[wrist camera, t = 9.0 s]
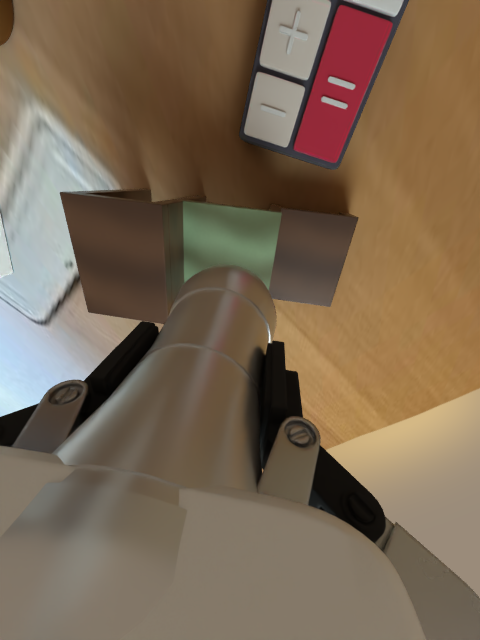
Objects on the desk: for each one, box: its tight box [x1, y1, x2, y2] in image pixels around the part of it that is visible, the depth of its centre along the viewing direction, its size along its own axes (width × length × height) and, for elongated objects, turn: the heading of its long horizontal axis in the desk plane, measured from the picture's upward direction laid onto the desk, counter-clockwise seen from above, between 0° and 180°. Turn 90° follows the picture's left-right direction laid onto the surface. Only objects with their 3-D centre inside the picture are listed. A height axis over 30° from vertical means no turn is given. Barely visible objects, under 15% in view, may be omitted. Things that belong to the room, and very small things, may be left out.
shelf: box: [60, 189, 358, 324], centre depth 28 cm, size 11×26×14 cm, turn 84°
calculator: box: [239, 0, 409, 169], centre depth 23 cm, size 11×4×15 cm
